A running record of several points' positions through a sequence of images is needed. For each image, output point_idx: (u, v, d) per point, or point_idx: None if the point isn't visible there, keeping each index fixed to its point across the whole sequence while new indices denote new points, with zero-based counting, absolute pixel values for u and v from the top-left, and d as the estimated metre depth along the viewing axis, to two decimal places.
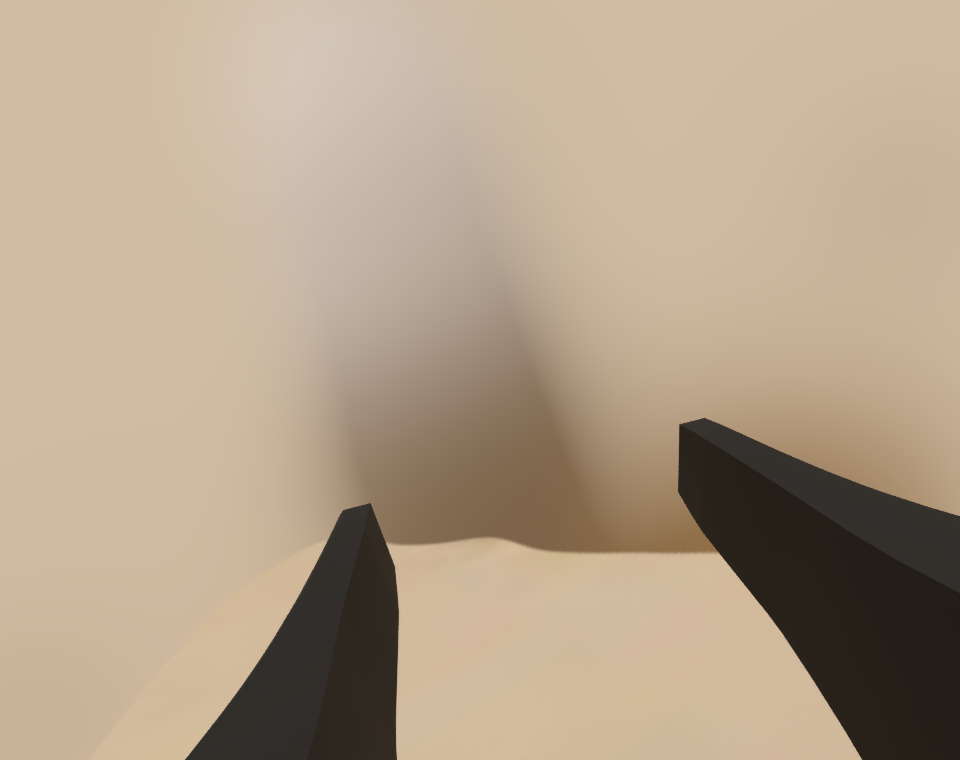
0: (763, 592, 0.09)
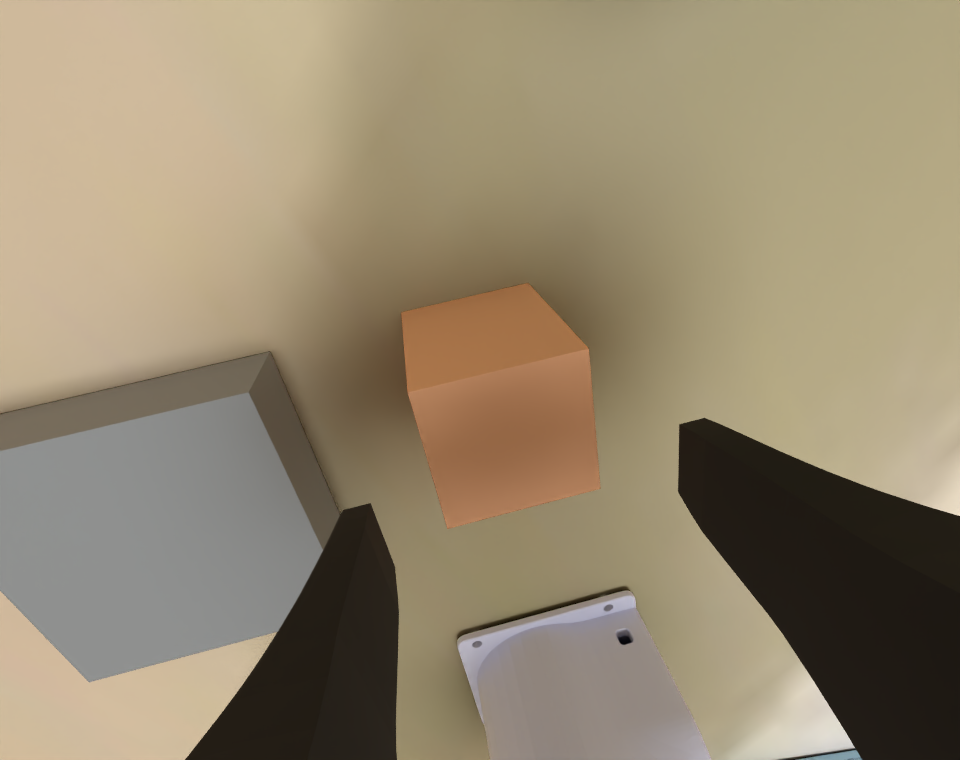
0: (763, 592, 0.09)
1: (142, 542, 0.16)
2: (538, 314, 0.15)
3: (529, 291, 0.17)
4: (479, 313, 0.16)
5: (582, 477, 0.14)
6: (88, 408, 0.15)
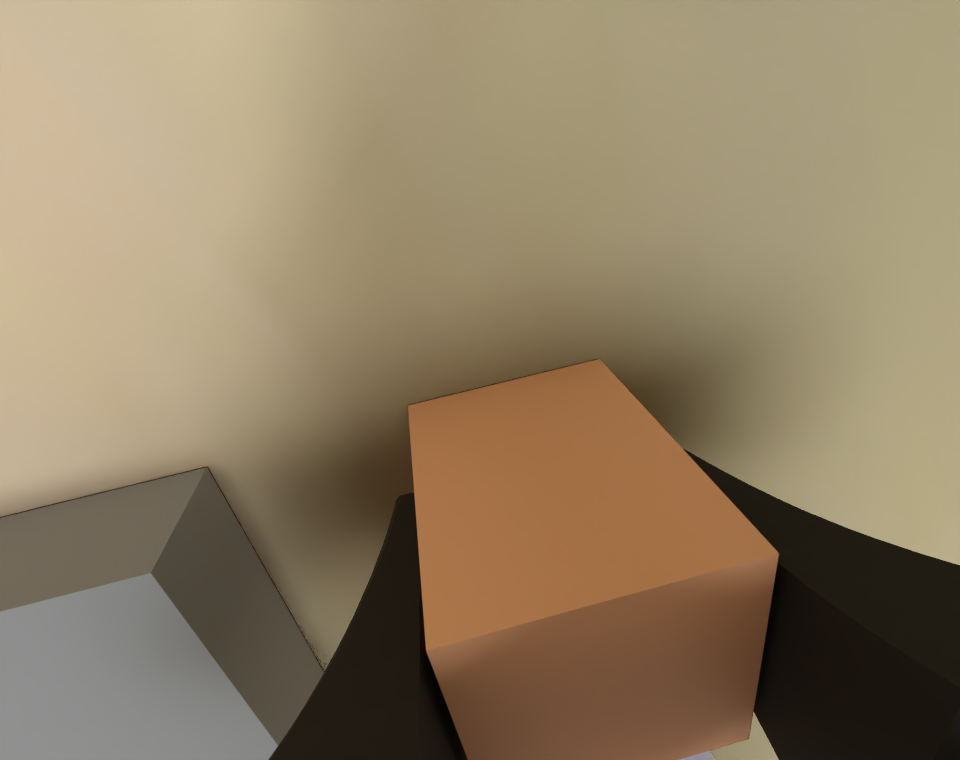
0: None
1: None
2: (639, 436, 0.09)
3: (607, 379, 0.11)
4: (535, 423, 0.10)
5: (722, 728, 0.08)
6: None
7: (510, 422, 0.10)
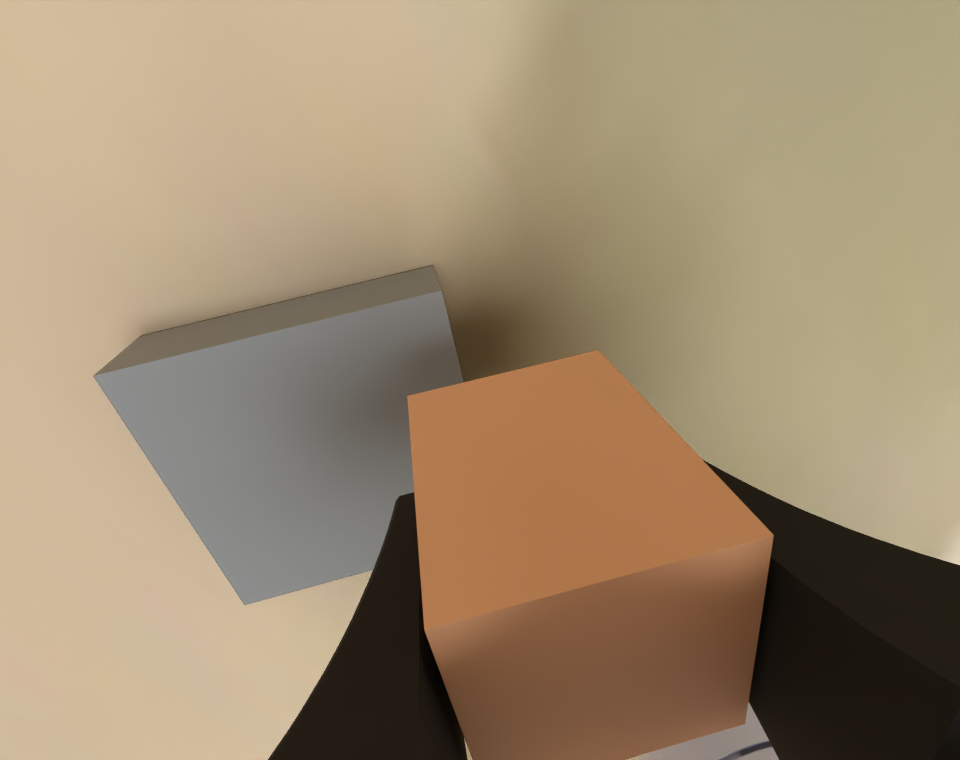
0: None
1: (317, 453, 0.16)
2: (637, 424, 0.09)
3: (605, 369, 0.11)
4: (533, 412, 0.10)
5: (719, 713, 0.08)
6: (268, 316, 0.15)
7: (509, 411, 0.10)
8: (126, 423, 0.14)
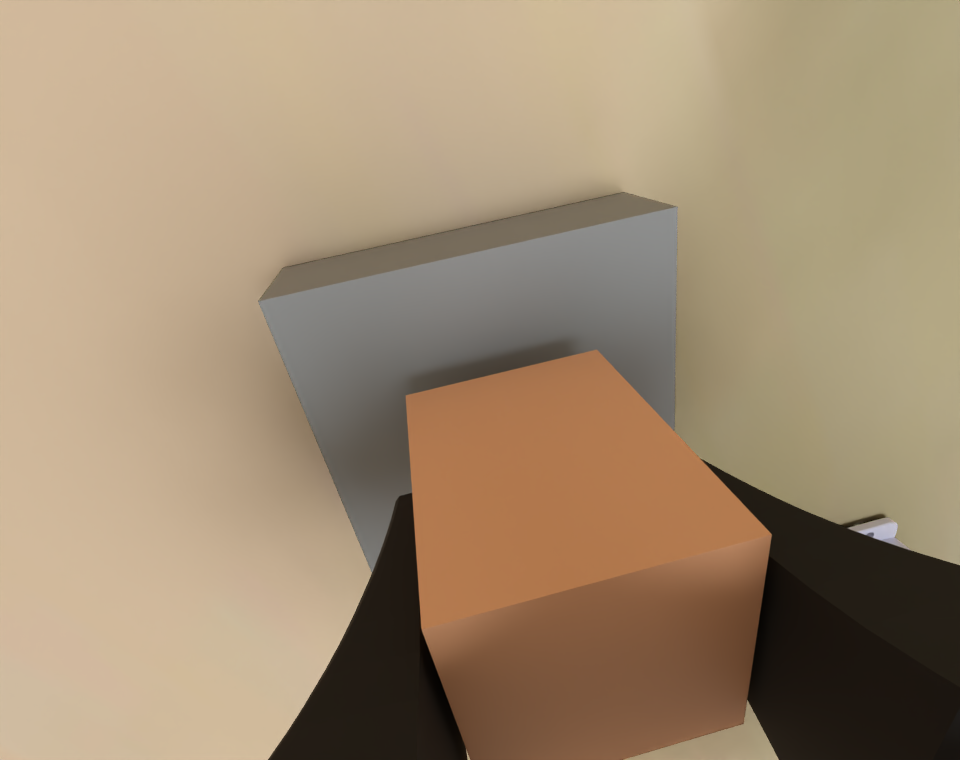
0: None
1: None
2: (635, 424, 0.09)
3: (604, 369, 0.11)
4: (531, 411, 0.10)
5: (717, 712, 0.08)
6: (448, 242, 0.13)
7: (507, 411, 0.10)
8: (286, 364, 0.12)
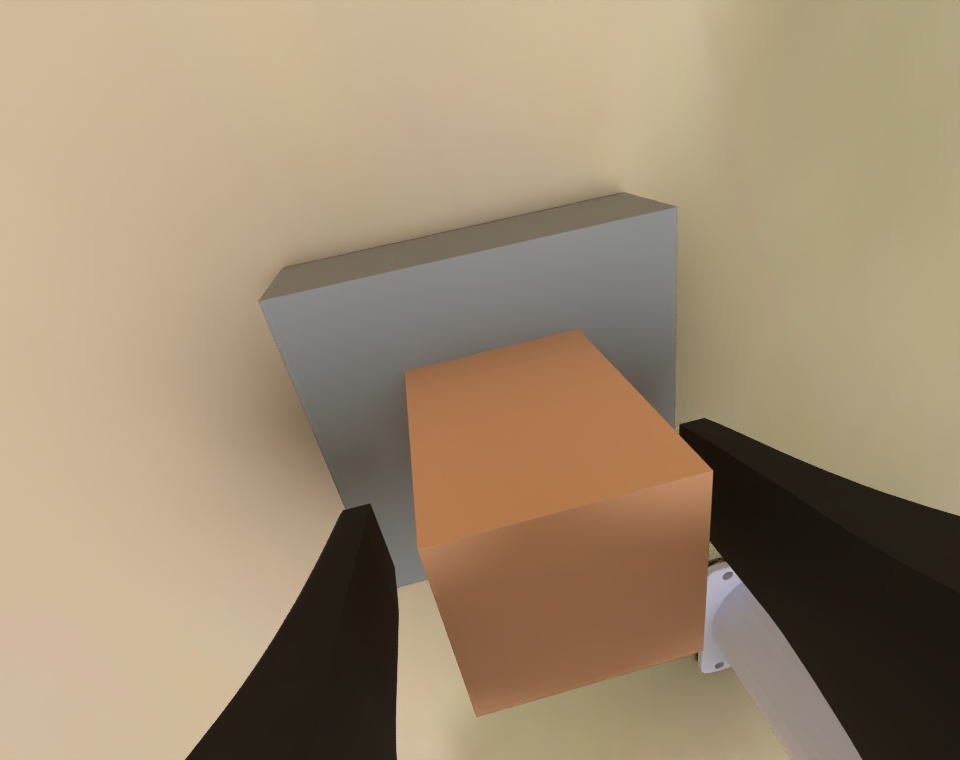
0: (763, 592, 0.09)
1: None
2: (607, 388, 0.10)
3: (583, 344, 0.12)
4: (517, 381, 0.11)
5: (679, 639, 0.09)
6: (448, 242, 0.13)
7: (495, 381, 0.11)
8: (286, 364, 0.12)
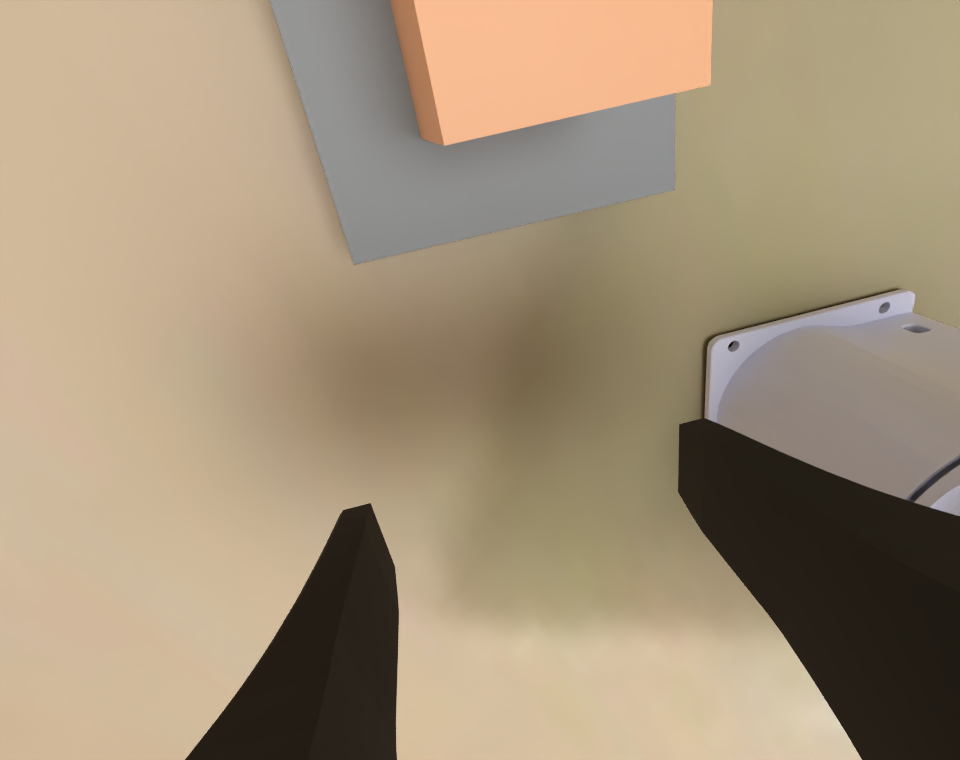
0: (763, 592, 0.09)
1: None
2: None
3: None
4: None
5: (681, 49, 0.08)
6: None
7: None
8: None
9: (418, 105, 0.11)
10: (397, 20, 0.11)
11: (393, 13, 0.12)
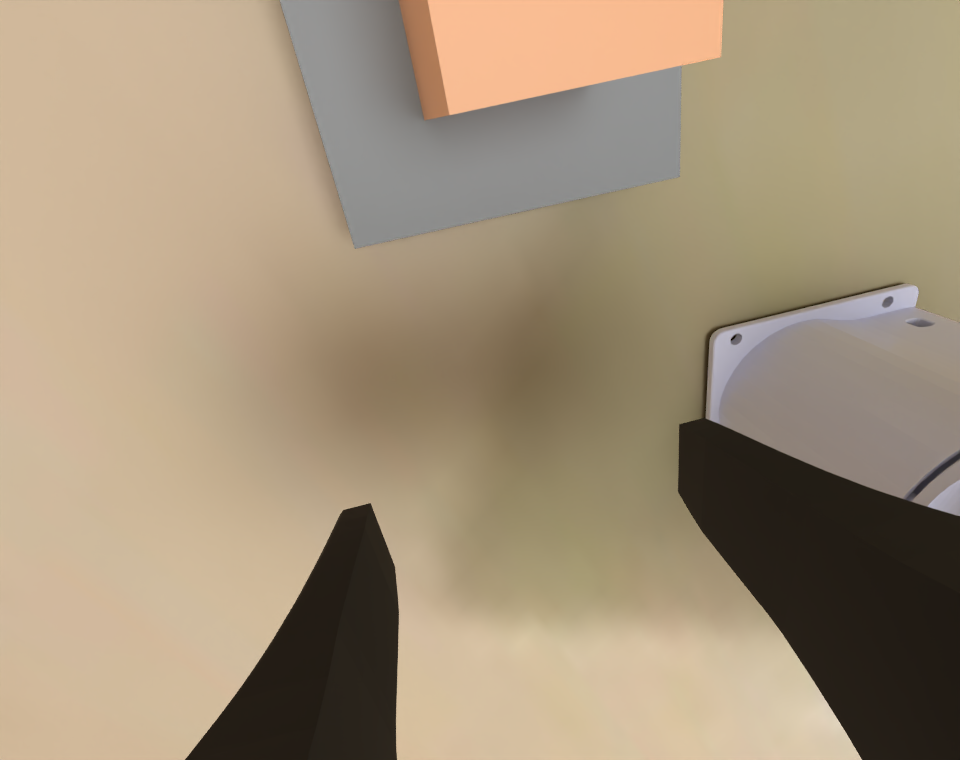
0: (763, 592, 0.09)
1: None
2: None
3: None
4: None
5: (693, 18, 0.08)
6: None
7: None
8: None
9: (422, 83, 0.11)
10: None
11: None
